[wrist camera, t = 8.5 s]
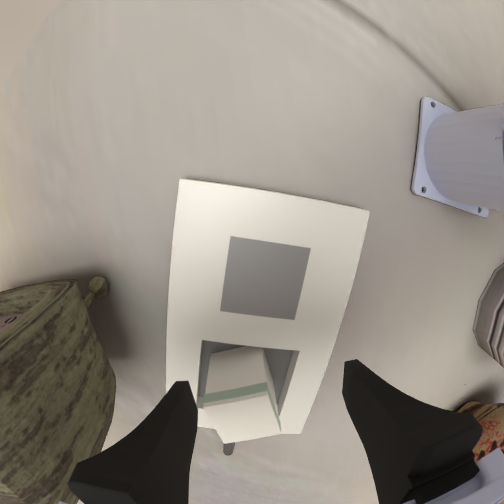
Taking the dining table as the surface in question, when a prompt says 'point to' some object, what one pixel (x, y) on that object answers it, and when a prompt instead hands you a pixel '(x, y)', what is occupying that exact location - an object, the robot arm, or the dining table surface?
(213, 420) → the block
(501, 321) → the grey angular piece
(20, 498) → the tabletop clock
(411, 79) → the dining table surface
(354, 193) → the dining table surface
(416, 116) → the dining table surface
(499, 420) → the ceramic jug
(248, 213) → the power strip
